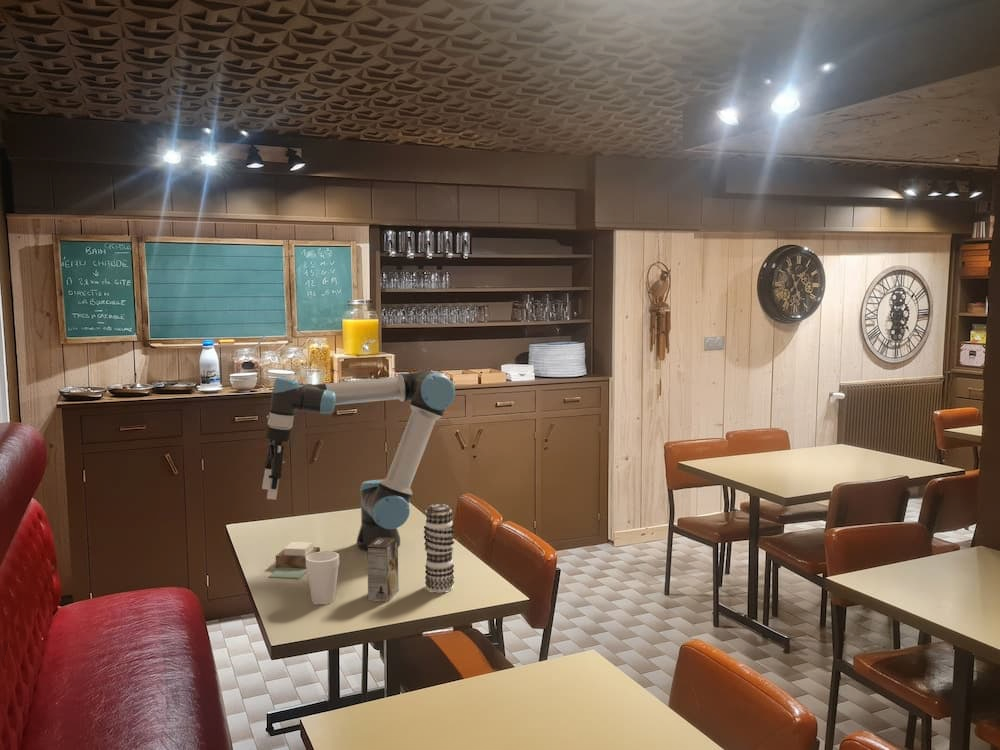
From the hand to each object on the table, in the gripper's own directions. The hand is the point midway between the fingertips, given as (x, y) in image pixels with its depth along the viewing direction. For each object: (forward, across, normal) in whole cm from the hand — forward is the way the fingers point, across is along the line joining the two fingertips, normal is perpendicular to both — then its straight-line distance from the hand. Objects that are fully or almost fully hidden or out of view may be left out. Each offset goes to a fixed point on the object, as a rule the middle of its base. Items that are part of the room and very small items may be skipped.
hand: (268, 494), depth 241 cm
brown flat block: (+23, -5, +14) cm, 27 cm away
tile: (+19, -4, +13) cm, 24 cm away
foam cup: (+23, +30, +16) cm, 41 cm away
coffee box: (+20, +33, +32) cm, 50 cm away
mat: (+24, +4, +10) cm, 26 cm away
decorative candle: (+17, +34, +49) cm, 62 cm away
